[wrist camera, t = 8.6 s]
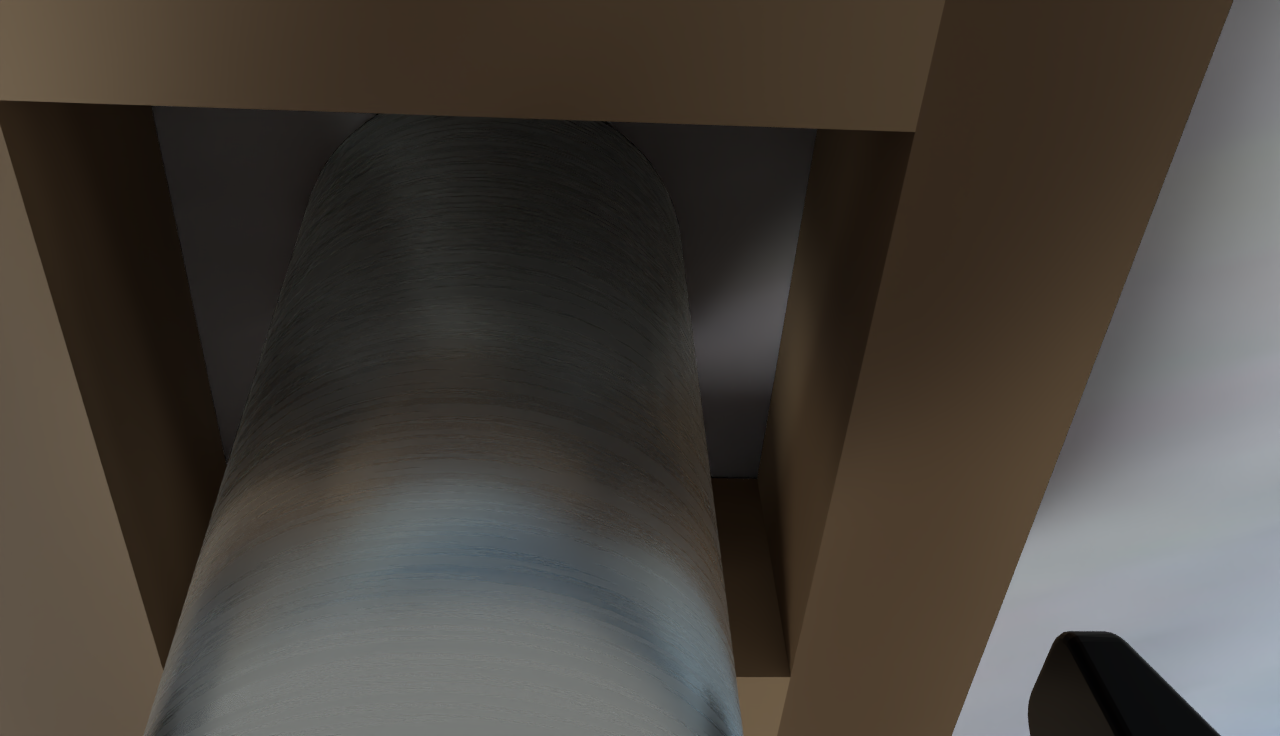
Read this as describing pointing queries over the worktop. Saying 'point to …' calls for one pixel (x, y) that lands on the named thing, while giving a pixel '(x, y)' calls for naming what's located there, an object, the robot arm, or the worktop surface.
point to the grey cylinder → (467, 460)
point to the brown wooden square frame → (811, 338)
